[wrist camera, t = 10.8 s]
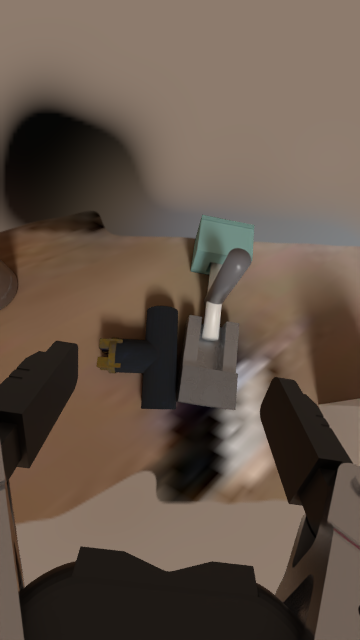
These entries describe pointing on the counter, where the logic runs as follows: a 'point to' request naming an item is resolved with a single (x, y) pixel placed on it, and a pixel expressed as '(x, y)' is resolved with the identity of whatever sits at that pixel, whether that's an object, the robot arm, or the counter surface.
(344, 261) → the counter surface
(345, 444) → the milk
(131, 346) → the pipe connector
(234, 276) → the grey piece
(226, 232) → the teal block
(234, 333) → the grey grooved block
